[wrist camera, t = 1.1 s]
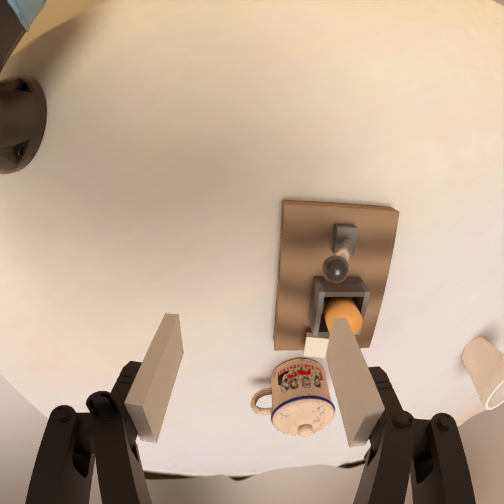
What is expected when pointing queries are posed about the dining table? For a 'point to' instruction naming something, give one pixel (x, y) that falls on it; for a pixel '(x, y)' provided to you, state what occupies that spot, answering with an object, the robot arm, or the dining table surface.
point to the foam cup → (485, 371)
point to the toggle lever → (338, 263)
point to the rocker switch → (316, 345)
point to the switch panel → (311, 260)
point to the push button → (342, 313)
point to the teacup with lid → (298, 398)
